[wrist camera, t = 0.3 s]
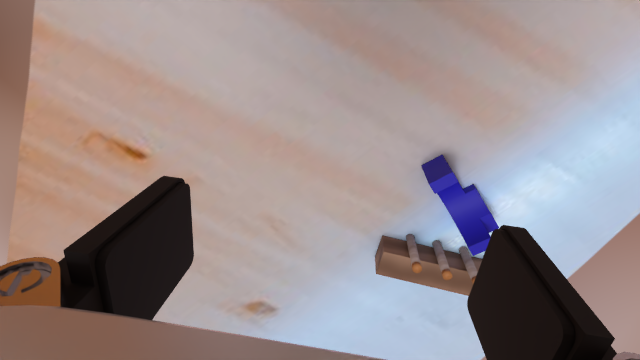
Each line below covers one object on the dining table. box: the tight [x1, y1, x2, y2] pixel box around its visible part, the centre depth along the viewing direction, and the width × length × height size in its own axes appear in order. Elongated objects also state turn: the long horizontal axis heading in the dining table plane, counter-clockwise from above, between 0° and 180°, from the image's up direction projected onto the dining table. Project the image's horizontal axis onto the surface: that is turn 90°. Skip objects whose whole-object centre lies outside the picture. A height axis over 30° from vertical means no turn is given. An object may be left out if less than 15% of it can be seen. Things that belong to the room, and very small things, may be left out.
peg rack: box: [375, 234, 482, 296], centre depth 49 cm, size 5×16×7 cm, turn 79°
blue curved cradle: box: [422, 155, 499, 256], centre depth 45 cm, size 12×4×6 cm, turn 35°
